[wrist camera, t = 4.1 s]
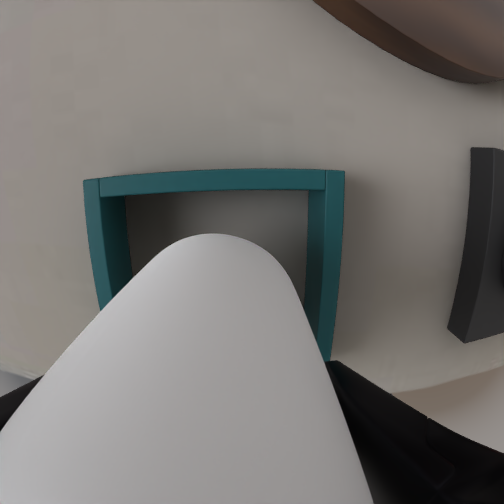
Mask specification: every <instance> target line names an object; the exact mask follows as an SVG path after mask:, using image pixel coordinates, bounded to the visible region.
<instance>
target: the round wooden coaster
mask: <svg viewBox="0 0 504 504" xmlns="http://www.w3.org/2000/svg"><path fill="white" fill-rule="evenodd" d="M313 1H314V2H315V3H317V4H318V5H319V6H321V7H322V8H323V9H325V10H326V11H327V12H329V13H330V14H331V15H332V16H334V17H335V18H336V19H338V20H339V21H341V22H342V23H344V24H345V25H346V26H348V27H349V28H351V29H352V30H354V31H355V32H356V33H358V34H359V35H361V36H363V37H364V38H366V39H367V40H369V41H371V42H372V43H374V44H375V45H377V46H379V47H380V48H382V49H383V50H385V51H387V52H389V53H391V54H393V55H394V56H396V57H398V58H400V59H402V60H403V61H405V62H408V63H410V64H412V65H414V66H416V67H418V68H420V69H422V70H424V71H427V72H430V73H432V74H435V75H438V76H440V77H443V78H446V79H450V80H454V81H458V82H464V83H473V84H479V83H489V82H494V81H499V80H504V0H313Z"/></svg>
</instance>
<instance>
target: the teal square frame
mask: <svg viewBox="0 0 504 504" xmlns="http://www.w3.org/2000/svg"><path fill="white" fill-rule="evenodd" d="M344 185H345V172H344V171H339V170H321V169H214V170H191V171H173V172H158V173H145V174H133V175H122V176H112V177H103V178H95V179H88V180H84V181H83V189H84V203H85V215H86V225H87V234H88V242H89V249H90V256H91V263H92V269H93V275H94V281H95V287H96V292H97V297H98V302H99V307H100V312H101V311H102V309H103V308H104V307H105V306H106V305H107V304H108V303H109V302H110V301H111V300H112V299H113V298H114V297H115V296H116V295H117V294H118V293H119V292H120V291H121V290H122V289H123V288H124V287H125V286H126V285H127V284H128V283H129V282H130V280H131V279H132V278H133V277H132V269H131V261H130V253H129V244H128V234H127V223H126V211H125V196H126V195H140V194H155V193H173V192H195V191H224V190H309V200H308V239H307V265H306V285H305V303H304V312H305V315H306V317H307V320H308V322H309V325H310V327H311V330H312V332H313V335H314V337H315V340H316V343H317V345H318V348H319V350H320V353H321V356H322V358H323V361H324V362H325V361H330V356H331V349H332V341H333V334H334V326H335V317H336V308H337V298H338V288H339V277H340V265H341V251H342V235H343V216H344Z"/></svg>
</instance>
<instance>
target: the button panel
mask: <svg viewBox="0 0 504 504" xmlns="http://www.w3.org/2000/svg"><path fill="white" fill-rule="evenodd" d="M447 328H448V330H450V331H451V332H452V333H453V334H454V335H455V336H456V337H457V338H459V339H460V340H461V341H462V342H463V343H468V342H472V341H476V340H479V339H483V338H486V337H490V336H493V335H497V334H500V333H503V332H504V151H503V150H500V149H496V148H480V147H472V148H471V177H470V197H469V210H468V221H467V230H466V238H465V245H464V252H463V258H462V264H461V270H460V275H459V281H458V286H457V290H456V295H455V299H454V304H453V308H452V312H451V316H450V320H449V324H448V327H447Z"/></svg>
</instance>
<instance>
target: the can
mask: <svg viewBox="0 0 504 504" xmlns="http://www.w3.org/2000/svg"><path fill="white" fill-rule="evenodd" d="M0 504H374V503H373V500H372V496H371V493H370V490H369V487H368V484H367V481H366V478H365V475H364V472H363V469H362V466H361V463H360V460H359V457H358V454H357V452H356V449H355V446H354V443H353V440H352V437H351V434H350V432H349V429H348V426H347V423H346V420H345V417H344V415H343V412H342V409H341V406H340V404H339V401H338V398H337V396H336V393H335V390H334V387H333V385H332V382H331V379H330V377H329V374H328V371H327V369H326V366H325V363H324V361H323V358H322V356H321V353H320V350H319V348H318V345H317V343H316V340H315V337H314V335H313V332H312V330H311V327H310V325H309V322H308V320H307V317H306V315H305V312H304V310H303V307H302V305H301V302H300V300H299V297H298V295H297V293H296V290H295V288H294V286H293V284H292V281H291V279H290V278H289V276H288V274H287V273H286V271H285V270H284V268H283V267H282V266H281V264H280V263H279V262H278V261H277V260H276V259H275V258H274V257H273V256H272V255H271V254H270V253H268V252H267V251H266V250H264V249H263V248H261V247H260V246H258V245H256V244H254V243H252V242H250V241H248V240H245V239H243V238H240V237H236V236H232V235H227V234H216V233H210V234H200V235H194V236H190V237H187V238H184V239H181V240H179V241H177V242H175V243H173V244H171V245H170V246H168V247H167V248H165V249H164V250H162V251H161V252H160V253H159V254H158V255H156V256H155V257H154V258H153V259H152V260H151V261H150V262H149V263H148V264H147V265H146V266H145V267H144V268H143V269H142V270H141V271H140V272H139V273H138V274H137V275H136V276H134V277H133V278H132V279H131V280H130V282H129V283H128V284H127V285H126V286H125V287H124V288H123V289H122V290H121V291H120V292H119V293H118V294H117V295H116V296H115V297H114V298H113V299H112V300H111V301H110V302H109V303H108V304H107V305H106V306H105V307H104V308H103V309H102V311H101V312H100V313H99V314H98V315H97V316H96V317H95V318H94V319H93V320H92V321H91V322H90V323H89V325H88V326H87V327H86V328H85V329H84V330H83V331H82V332H81V333H80V334H79V336H78V337H77V338H76V339H75V340H74V341H73V342H72V343H71V345H70V346H69V347H68V348H67V349H66V350H65V351H64V353H63V354H62V355H61V356H60V357H59V358H58V359H57V361H56V362H55V363H54V364H53V365H52V367H51V368H50V369H49V370H48V371H47V372H46V374H45V375H44V376H43V377H42V378H41V380H40V381H39V382H38V383H37V385H36V386H35V387H34V388H33V389H32V391H31V392H30V393H29V394H28V396H27V397H26V398H25V399H24V401H23V402H22V403H21V405H20V406H19V407H18V409H17V410H16V411H15V412H14V414H13V415H12V416H11V418H10V419H9V420H8V422H7V423H6V425H5V426H4V427H3V429H2V430H1V431H0Z"/></svg>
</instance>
